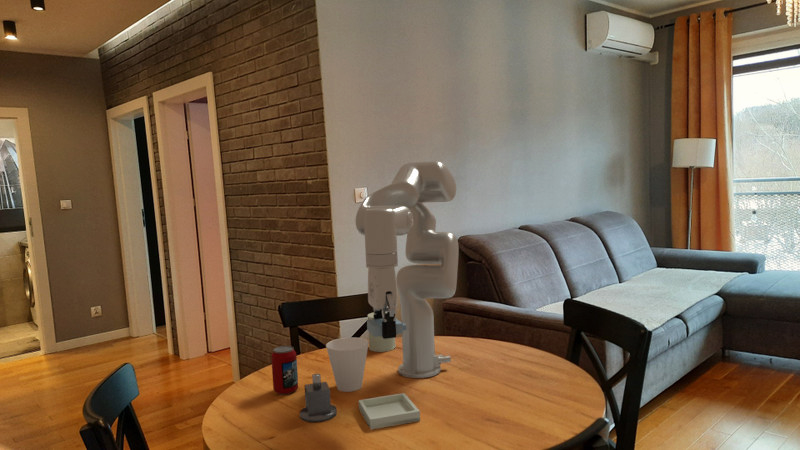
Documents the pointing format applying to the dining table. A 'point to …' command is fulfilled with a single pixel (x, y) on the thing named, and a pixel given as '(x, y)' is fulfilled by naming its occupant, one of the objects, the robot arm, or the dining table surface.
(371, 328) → the blue-grey rectangular frame
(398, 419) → the tray
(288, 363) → the beverage can
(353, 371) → the cup
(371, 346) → the can
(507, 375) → the dining table surface
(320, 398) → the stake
